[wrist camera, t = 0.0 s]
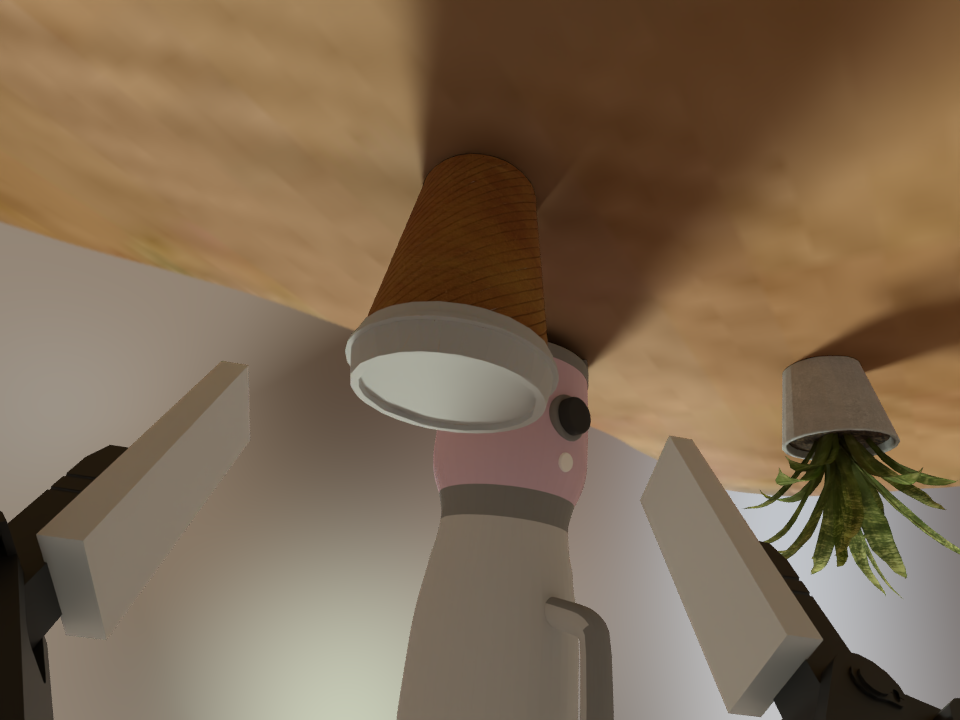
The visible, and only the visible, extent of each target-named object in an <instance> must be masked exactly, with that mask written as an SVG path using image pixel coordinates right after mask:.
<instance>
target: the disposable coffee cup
mask: <svg viewBox="0 0 960 720" xmlns="http://www.w3.org/2000/svg"><path fill="white" fill-rule="evenodd" d="M536 211H537V209H536V198H535V193H534V189H533V187H532V185H531V183H530V182H529V181H528V179H527V178H526V177H525V176H524V174H523V173H522V172H520V171H519V170H518V169H517V168H515V167H514V166H513V165H511V164H509V163H508V162H506V161H503V160H501V159H498V158H496V157H492V156H487V155H482V154H466V155H459V156H455V157H452V158H449V159H446V160H445V161H443V162H442V163H440V164H438V165H437V166H436V167H435V168H434V169H433V170H432V171H431V172H430V173H429V174H428V176H427V177H426V179H425V182H424V185H423V187H422V190H421V192H420V194H419V196H418V199H417V201H416V204H415V206H414V208H413V211H412V213H411V215H410V218H409V220H408V222H407V224H406V227H405V229H404V232H403V234H402V236H401V238H400V240H399V243H398V246H397V248H396V250H395V253H394V255H393V257H392V260H391V263H390V265H389V267H388V270H387V272H386V274H385V277H384V279H383V281H382V284H381V286H380V288H379V291H378V293H377V295H376V297H375V300H374V302H373V305H372V307H371V309H370V311H369V314H368V317H366V318H365V320H364V321H363V322H362V323H361V325H360V326H359V327H358V328H357V329H356V330H355V331H354V332H353V333H352V334H351V336H350V338H349V340H348V342H347V346H346V350H345V353H346V357H347V362H348V363H349V365H350V366H351V387H352V389H353V390H354V392H355V393H356V395H357V396H358V397H359V398H360V399H361V400H363V401H364V402H365V403H366V404H368V405H370V406H371V407H373V408H375V409H377V410H378V411H380V412H382V413H383V414H386V415H388V416H390V417H393V418H395V419H398V420H401V421H404V422H407V423H410V424H414V425H418V426H422V427H425V428H430V429H436V430H442V431H449V432H456V433H496V432H504V431H510V430H515V429H519V428H522V427H525V426H527V425H529V424H531V423H533V422H535V421H537V420H538V419H539V418H540V417H541V416H542V415H543V413H544V411H545V409H546V406H547V402H548V399H549V396H550V395H552V393H553V392H554V391H555V390H556V388H557V385H558V382H559V374H558V369H557V365H556V363H555V361H554V359H553V355H552V354H551V352H550V350H549V348H548V343H547V342H548V340H547V331H546V330H547V326H546V320H545V318H546V314H545V309H544V307H545V303H544V298H543V297H544V294H543V282H542V277H541V276H542V270H541V258H540V255H541V254H540V248H539V247H540V244H539V239H538V238H539V234H538V230H537V229H538V223H537V221H536V220H537V212H536Z"/></svg>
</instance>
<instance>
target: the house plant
mask: <svg viewBox="0 0 960 720" xmlns="http://www.w3.org/2000/svg"><path fill="white" fill-rule="evenodd" d="M899 442H900V439H899V437H898V435H897V433H896V431H895V429H894V427H893V426H892V424H891V422H890V420H889V418H888V416H887V414H886V412H885V410H884V408H883V407H882V405H881V403H880V401H879V399H878V397H877V395H876V393H875V391H874V389H873V388H872V386H871V384H870V382H869V380H868V378H867V376H866V374H865V372H864V370H863V369H862V367H861V365H860V363H859V361H857V360H856V359H854V358H850V357H845V356H821V357H814V358H809V359H805V360H802V361H799V362H797V363H795V364H792V365H790V366H789V367H788V368H786V369H785V370H784V372H783V399H782V450H783V451H784V452H785V453H786V454H788V455H790V456H793V457H797V458H801V459H804V460H803V462H802V463H797V462H794V461H791V460H790V459H788V458H787V457H786V456H785V457H786V458H787V459H788V461H789V464H790V468H792V469H793V470H795V473H794V474H793V476H792V477H791V478H790V477H788V476H787V475H785V474H783V473H782V472H781V470H780V468H779V474H778V476H777V478H776V480H775V481H776V483H777V484H779V485H784V486H783V487H782V488H781V489H780V490H779V491H778V492H777V493H776V494H775V495H774V496H772V497H770V496H767V495H765V494H763V493H762V492H761V493H762V494H763V495H764V496H765V497H766V498H768V499H769V500H767V501H766V502H764V503H763V504H761V505H759V506H754V507H748V508H760V507H764V506H767V505H769V504H771V503H773V502H774V501H776V500H779V501H783V502H795V501H799V500H801V502H800V504H799V506H798V508H797V510H796V511H795V513H794V514H793V516H792V517H791V519H790V520H789V522H788V523H787V525H785V527H784V528H783V529H782V530H781V531H780V532H778V533H777V534H776V535H775V536H773V537H772V538H770V539H769V540H767V541H764V542H768V543H772V542H774V541H776V540H778V539H779V538H781V537H782V536H783V535H785V534H786V533H787V531H788V530H789V529H790V528H791V527H792V525H793V524H794V522H795V521H796V519H797V517H798V515H799V513H800V512H801V510H802V507H803V506H804V504H805V502H806V500H807V498H808V496H809V495H810V494H811V493H812V492H813V491H814V490H815V488H816V487H817V486H818V485H819V483H820V482H821V480H822V477H823V475H824V472H825V483H824V488H823V490H822V492H821V494H820V497H819V499H818V501H817V504H816V506H815V508H814V510H813V512H812V514H811V517H810V519H809V521H808V523H807V524H806V526H805V528H804V529H803V531H802V532H801V534H800V535H799V537H798V538H797V539H796V541H795V542H794V543H793V544H792V545H791V546H790V547H789V548H788V549H787V550H785V551H778V552H779V553H782V554H781V555H782V556H783V557H785V558H786V559H788V558H789V557H791V556H792V555H793V554H795V553H796V552H797V551H798V550H799V549H800V548H801V547H802V545H804V544H805V543H806V542H807V540H809V538H810V537H811V536H812V534H813V532H814V530H815V528H816V526H817V524H818V521H819V519H820V516H821V514H822V511H823V519H822V524H821V528H820V532H819V536H818V541H817V544H816V548H815V552H814V556H813V557H812V559H813V562H814V567H813V569H812V570H811V572H812V574H814V573H816V572H818V571H820V570H822V569H823V568H824V567H825V566H826V565H827V563H828V561H829V559H830V556H831V553H832V550H833V547H834V545H835V549H836V556H837V567H838V566H843V565H844V564H845V562H846V560H847V557H848V552H847V547H848V546H849V548H850V551H851V553H852V556H853V558H854V560H855V562H856V564H857V565H858V566H859V568H860V569H861V570H862V571H863V573H864V574H865V575H866V576H867V578H868V579H869V580H870V581H871V582H872V583H873V584H874V585H875V586H876V587H877V588H878V589H880V590H881V591H882V592H883V593H884V594H885V592H884V590H883V589H882V587H881V586H880V584H879V582H878V580H877V579H876V578H875V576H874V575H873V573H872V571H871V569H870V567H869V564H868V560H867V556H868V557H869V559H870V561H871V563H872V564H873V566H874V568H875V569H876V570H877V572H878V573H879V575H880V576H881V577H882V579H883V580H884V581H885V583H886V584H887V585H888V586H889V587H890V588H891V589H892V590H893V591H894V589H893V588H892V587H891V586H890V585H889V583H888V582H887V580H886V579H885V578H884V576H883V575H882V573H881V571H880V570H879V568H878V566H877V564H876V562H875V560H874V558H873V556H872V554H871V552H870V550H869V548H868V545H867V543H866V541H865V538H866V539H867V541H868V543H869V545H870V547H871V549H872V550H873V551H874V552H875V553H876V554H877V555H878V556H879V557H880V558H881V559H883V560H884V561H885V562H886V563H887V564H888V565H889V567H890V568H891V569H892V570H893V571H894V572H895V573H897V574H899V575H901V576H903V577H905V578H906V577H907V574H906V569H905V566H904V565H903V562H902V559H901V556H900V554H899V552H898V549H897V547H896V545H895V542H894V540H893V536H892V533H891V530H890V527H889V524H888V521H887V519H886V517H885V516H884V507H883V503H882V501H881V498H880V496H879V493H878V491H879V492H880V494H881V495H882V496H883V497H884V498H885V499H886V500H887V501H888V502H889V503H890V504H891V505H892V506H893V507H894V508H895V509H896V510H898V511H899V512H900V513H901V514H903V515H904V516H905V517H906V518H908V519H909V520H910V521H911V522H912V523H913V524H915V525H916V526H917V527H918V528H920V529H921V530H922V531H923V532H925V533H926V534H927V535H929V536H930V537H932V538H933V539H935V540H936V541H938V542H939V543H940V544H942V545H944V546H945V547H947V548H949V549H951V550H952V551H954V552H956V553H958V554H960V549H958V547H956V546H955V545H953V544H951V543H950V542H949V541H947V540H946V539H944V538H943V537H942V536H940V535H939V534H938V533H936V532H935V531H934V530H932V529H931V528H930V527H928V526H927V525H926V524H925V523H923V521H922V520H920V519H919V518H918V517H917V516H916V515H915V514H914V513H912V511H910V510H909V509H908V508H907V507H906V506H905V505H904V504H902V503H901V502H900V501H899V500H898V499H897V498H896V497H894V496H893V495H892V494H891V493H890V492H889V491H888V490H887V489H886V488H885V487H884V486H883V485H882V484H881V483H879V482H878V481H877V480H876V479H875V478H874V477H873V476H872V475H874V476H878V477H881V478H883V479H884V480H885V481H887V482H888V483H890V484H891V485H892V486H894V487H895V488H896V489H898V490H899V491H901V492H903V493H905V494H907V495H909V496H910V497H912V498H914V499H916V500H918V501H920V502H922V503H923V504H926V505H928V506H930V507H934V508H938V509H943V510H945V509H944V508H943V507H942V506H941V505H939V504H937V503H936V502H934V501H933V500H932V499H931V497H929V495H927V494H926V493H925V492H924V491H922V490H921V489H919V488H917V487H915V486H914V485H912V484H914V483H915V482H916V481H917V482H919V483H922V484H927V485H947V484H951V483H955V482H956V481H953V480H948V479H943V478H939V477H935V476H931V475H927V474H924V473H921V471H922V469H923V468H922V469H921V470H920V471H919V472H918V471H915V470H913V469H910V468H908V467H905V466H903V465H901V464H899V463H897V462H896V461H894V460H893V459H892V458H890V457H889V456H887V455H886V454H885V453H884V452H887V451H890V450H892V449H893V448H895V447H896V446H897V445H898V444H899ZM874 455H878V456H879V457H880V458H881V460H882V461H883V462H885V463H886V464H887V465H888V466H890V467H891V468H892V469H894V470H895V471H897V472H898V473H900V474H902V475H898V474H897V473H895V472H894V471H892V470H891V469H889V468H888V467H886V466H885V465H883V464H882V463H880V462H879V461H878V460H876V459H875V458H874V457H873V456H874ZM809 460H812V461H811V463H810V464H807V463H808V461H809ZM802 471H807V472H806V474H805V475H804V476H803V477H802V478H801V479H800V480H798V479H796V478H797V477H798V476H799V474H800V473H801V472H802ZM809 480H810V481H809ZM800 481H809V482H808V483H807V484H806V485H805V486H804V487H803V488H802V490H801V491H800V492H798V493H796V494H795V495H793V496H791V497H788V498H783V499H778V498H780V497H781V496H782V495H783V494H784V493H785V492H786V491H787V490H788V489H789V488H790V486H791V485H792V484H793V483H796V482H800ZM957 481H958V480H957ZM876 489H877V490H878V491H877V490H876ZM746 509H747V508H746ZM861 527H862V529H863V532H864V535H863V533H862V531H861ZM866 554H867V555H866ZM894 592H895V593H896V591H894ZM897 594H898V593H897ZM885 595H886V594H885ZM898 595H899V594H898Z"/></svg>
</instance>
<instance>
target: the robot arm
mask: <svg viewBox="0 0 960 720" xmlns="http://www.w3.org/2000/svg"><path fill="white" fill-rule="evenodd" d="M249 441H250V412H249V369H248V365H243V364H238V363H231V362H226V361H221V362H220V363H219V364H218V365H217V366H216V367H215V368H214V369H213V370H212V371H210V372H209V373H208V374H207V375H206V376H205V377H204V378H203V379H202V380H201V381H200V382H199V383H198V384H197V385H195V386H194V387H193V388H192V389H191V390H190V391H189V392H188V393H187V394H186V395H185V396H184V397H183V398H182V399H180V400H179V401H178V403H176V404H175V405H174V406H173V407H172V408H171V409H170V410H169V411H168V412H167V413H166V414H165V415H163V416H162V417H161V418H160V419H159V420H158V421H157V422H156V423H155V424H154V425H153V426H152V427H151V428H149V429H148V430H147V431H146V432H145V433H144V434H143V435H142V436H141V437H140V438H139V439H138V440H137V441H136V442H135V443H133V444H132V445H131V446H130V447H129V448H127V447H121V446H114V445H109V446H107V447H105V448H103V449H101V450H99V451H97V452H95V453H93V454H91V455H89V456H87V457H85V458H84V459H83V460H81V461H80V462H79V463H78V464H77V465H76V466H74V467H73V468H72V469H71V470H70V471H69V472H67V475H66V476H63V477H62V478H60V479H59V480H58V481H57V482H56V483H54V484H53V485H52V486H51V489H50V490H46V491H45V492H44V493H43V494H42V495H41V496H40V497H38V498H37V499H36V500H35V501H33V502H32V503H31V504H30V505H29V506H28V507H27V508H25V509H24V510H23V511H22V512H21V513H20V514H18V515H17V516H16V517H15V518H14V519H12V520H11V521H10V522H9V523H8V524H7V521H6V519H5V517H4V515H3V513H2V512H1V511H0V720H53V709H52V697H51V685H50V672H49V660H48V648H47V642H46V639H45V637H44V635H45V634H46V633H47V632H48V630H49V629H50V628H51V627H52V626H53V625H54V623H55V622H56V621H57V620H58V619H59V617H60V616H61V620H62V623H63V626H64V630H65V633H66V635H69V636H78V637H87V638H95V639H104V640H107V639H108V637H109V636H110V635H111V633H112V632H113V630H114V629H115V628H116V626H117V625H118V623H119V622H120V621H121V619H122V618H123V617H124V615H125V614H126V612H127V611H128V610H129V608H130V607H131V605H132V604H133V602H134V601H135V600H136V598H137V597H138V595H139V594H140V593H141V591H142V590H143V589H144V587H145V586H146V585H147V583H148V582H149V580H150V579H151V578H152V576H153V575H154V573H155V572H156V571H157V569H158V568H159V566H160V565H161V564H162V562H163V561H164V559H165V558H166V557H167V555H168V554H169V553H170V551H171V550H172V548H173V547H174V546H175V544H176V543H177V541H178V540H179V539H180V537H181V536H182V534H183V533H184V532H185V530H186V529H187V527H188V526H189V525H190V523H191V522H192V520H193V519H194V518H195V516H196V515H197V514H198V512H199V511H200V509H201V508H202V507H203V505H204V504H205V502H206V501H207V500H208V498H209V497H210V495H211V494H212V492H213V491H214V490H215V488H216V487H217V486H218V484H219V483H220V481H221V480H222V479H223V477H224V476H225V475H226V473H227V472H228V470H229V469H230V468H231V466H232V465H233V463H234V462H235V461H236V459H237V458H238V456H239V455H240V454H241V452H242V451H243V449H244V448H245V447H246V445H247V444H248V442H249ZM640 501H641V504H642V506H643V509H644V511H645V513H646V516H647V518H648V521H649V523H650V526H651V528H652V530H653V533H654V535H655V538H656V540H657V542H658V545H659V547H660V550H661V552H662V554H663V557H664V559H665V562H666V564H667V566H668V569H669V571H670V574H671V576H672V578H673V581H674V583H675V585H676V588H677V590H678V593H679V595H680V598H681V600H682V603H683V605H684V607H685V610H686V612H687V615H688V617H689V619H690V622H691V624H692V626H693V629H694V631H695V634H696V636H697V638H698V641H699V643H700V646H701V648H702V651H703V653H704V655H705V657H706V660H707V663H708V665H709V668H710V670H711V672H712V675H713V677H714V679H715V682H716V684H717V687H718V689H719V692H720V694H721V696H722V699H723V701H724V703H725V706H726V708H727V711H728V713H731V714H739V715H749V716H756V717H761V716H762V715H763V714H764V713H765V711H766V710H767V709H768V708H769V706H770V705H771V704H772V703H773V701H774V702H775V704H776V706H777V708H778V710H779V712H780V714H781V716H782V718H783V719H782V720H960V698H955V699H953V700H952V701H951V702H950V703H949V704H947V705H946V706H945V707H944V708H943V709H942V710H940V709H938V708H936V707H934V706H931V705H929V704H926V703H924V702H922V701H919V700H917V699H915V698H912V697H910V696H908V695H905V694H904V693H903V691H902V690H901V688H900V687H899V685H898V684H897V683H896V682H895V681H894V680H893V679H892V678H891V677H890V676H889V675H888V674H887V672H885V671H884V670H882V669H881V668H880V667H879V666H877V665H876V664H875V663H873V662H872V661H870V660H868V659H866V658H864V657H862V656H860V655H859V654H855V653H851V652H850V650H849V649H848V647H847V646H846V645H845V643H844V642H843V640H842V639H841V637H840V636H839V634H838V633H837V631H836V630H835V629H834V627H833V626H832V624H831V623H830V621H829V620H828V618H827V617H826V616H825V614H824V613H823V611H822V610H821V608H820V607H819V605H818V604H817V603H816V601H815V600H814V598H813V597H812V596H810V595H809V591H808V590H807V588H806V587H805V585H804V584H803V582H802V581H799V577H798V575H797V574H796V572H795V571H794V569H793V568H792V567H791V565H790V564H789V562H788V561H787V559H786V558H785V557H783V556H782V555H781V554H780V553H779V552H778V551H777V550H776V549H775V548H774V547H773V546H772V545H771V544H770V543H768V542H761V541H758V539H757V538H756V536H755V535H754V533H753V532H752V530H751V529H750V528H749V526H748V524H747V523H746V521H745V520H744V518H743V517H742V515H741V514H740V512H739V510H738V509H737V507H736V506H735V504H734V503H733V502H732V500H731V498H730V497H729V495H728V494H727V492H726V491H725V489H724V488H723V486H722V484H721V483H720V481H719V480H718V478H717V477H716V475H715V474H714V472H713V471H712V469H711V468H710V466H709V465H708V463H707V462H706V460H705V459H704V457H703V456H702V454H701V452H700V451H699V449H698V448H697V446H696V445H695V443H694V442H693V440H692V439H687V438H681V437H675V436H669V437H668V439H667V442H666V444H665V446H664V448H663V451H662V453H661V455H660V457H659V459H658V462H657V464H656V466H655V469H654V471H653V473H652V475H651V477H650V480H649V482H648V484H647V486H646V488H645V491H644V493H643V495H642V497H641V500H640Z"/></svg>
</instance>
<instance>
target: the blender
mask: <svg viewBox="0 0 960 720" xmlns="http://www.w3.org/2000/svg"><path fill="white" fill-rule="evenodd" d="M547 343H548V348H549V350H550V352H551V354H552V355H553V359H554V361H555V363H556V365H557V369H558V374H559V382H558V385H557V388H556V390H555V391H554V392H553V393H552V395H550V396H549V399H548V402H547V406H546V409H545V411H544V413H543V415H542V416H541V417H540V418H539V419H538V420H537V421H535V422H533V423H531V424H529V425H527V426H525V427H522V428H519V429H515V430H510V431H504V432H496V433H456V432H449V431H442V430H437V434H436V440H435V447H434V456H433V468H434V476H435V481H436V484H437V488H438V491H439V494H440V501H441V510H442V511H441V520H440V525H439V529H438V533H437V537H436V540H435V543H434V546H433V549H432V552H431V555H430V558H429V562H428V566H427V569H426V572H425V576H424V579H423V582H422V585H421V589H420V592H419V596H418V600H417V604H416V608H415V612H414V616H413V621H412V626H411V631H410V637H409V643H408V649H407V656H406V661H405V667H404V673H403V680H402V686H401V692H400V699H399V705H398V712H397V720H578V669H579V668H578V667H579V649H578V646H579V645H578V638H579V640H580V674H581V675H580V678H581V679H580V683H581V684H580V689H581V690H580V698H581V699H580V720H614V719H613V717H614V715H613V713H614V711H613V682H612V655H611V645H610V636H609V630H608V628H607V625H606V623H605V622H604V620H603V619H602V618H601V617H600V616H599V615H598V614H597V613H596V612H594V611H593V610H592V609H590V608H588V607H585V606H583V605H580V604H577V603H575V598H574V590H573V581H572V580H573V578H572V569H571V564H570V559H569V547H568V525H569V521H570V518H571V515H572V512H573V509H574V507H575V505H576V503H577V501H578V499H579V497H580V495H581V493H582V490H583V487H584V484H585V479H586V472H587V444H588V429H589V427H590V422H591V418H590V413H589V410H588V396H587V390H588V365H587V360H581V359H580V358H579V357H578V356H577V355H575V354H574V353H572V352H571V351H569V350H567V349H565V348H563V347H561V346H558V345H555V344H553V343H549V342H547Z"/></svg>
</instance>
